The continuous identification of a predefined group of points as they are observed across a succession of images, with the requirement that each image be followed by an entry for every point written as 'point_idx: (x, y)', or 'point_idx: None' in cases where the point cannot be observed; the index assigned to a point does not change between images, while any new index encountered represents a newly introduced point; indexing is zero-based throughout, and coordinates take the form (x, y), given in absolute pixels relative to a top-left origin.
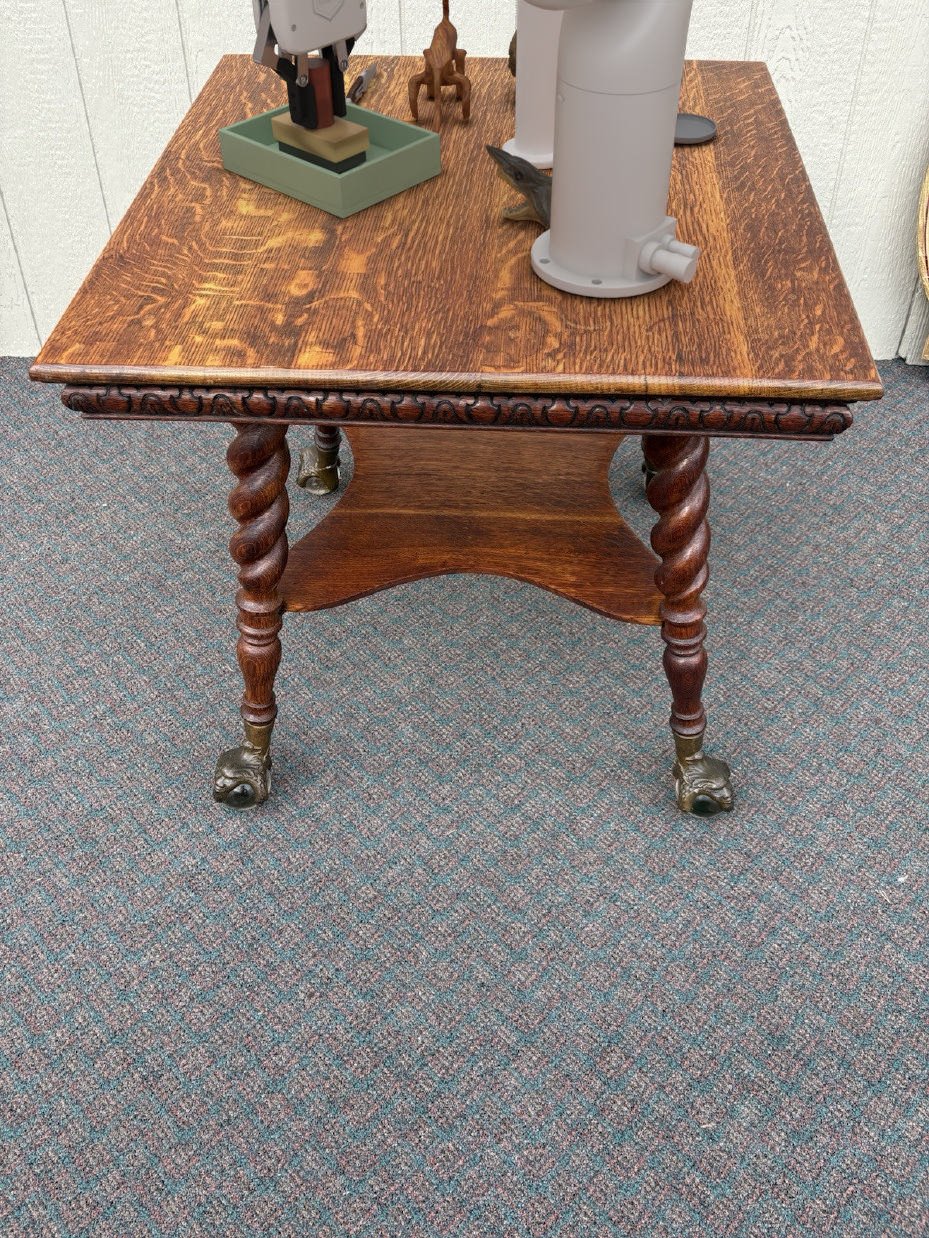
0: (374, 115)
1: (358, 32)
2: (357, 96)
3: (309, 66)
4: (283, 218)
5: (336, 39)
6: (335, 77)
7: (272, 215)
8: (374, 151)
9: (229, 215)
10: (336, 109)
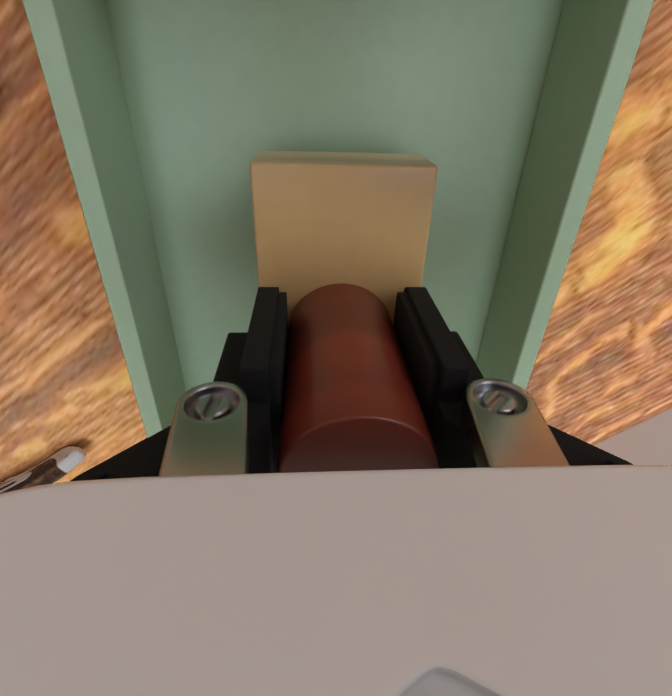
0: (123, 274)
1: (44, 489)
2: (25, 474)
3: (408, 461)
4: (644, 116)
5: (337, 482)
6: (278, 378)
7: (636, 158)
8: (188, 211)
9: (669, 245)
10: (286, 317)
